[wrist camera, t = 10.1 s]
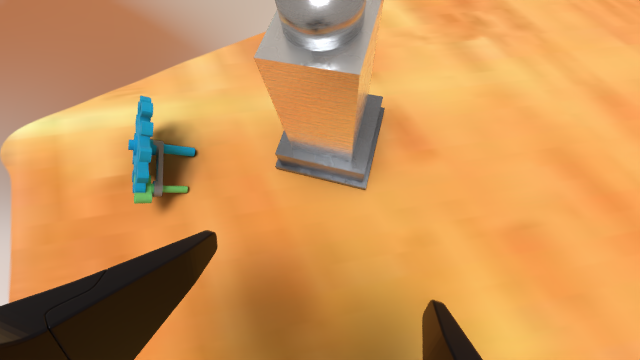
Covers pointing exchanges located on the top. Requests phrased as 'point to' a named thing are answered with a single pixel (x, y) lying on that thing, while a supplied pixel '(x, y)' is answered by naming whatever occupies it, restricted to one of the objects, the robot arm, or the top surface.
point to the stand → (333, 167)
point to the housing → (320, 70)
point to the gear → (142, 155)
